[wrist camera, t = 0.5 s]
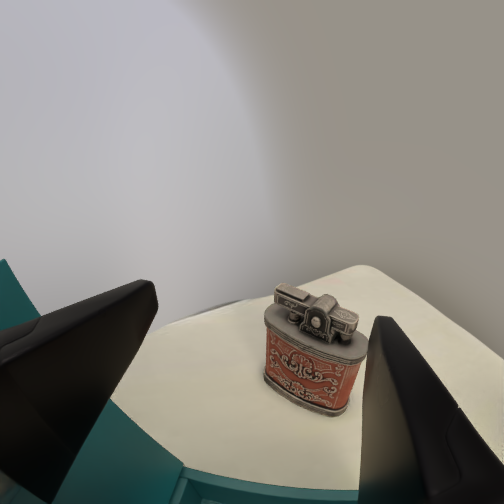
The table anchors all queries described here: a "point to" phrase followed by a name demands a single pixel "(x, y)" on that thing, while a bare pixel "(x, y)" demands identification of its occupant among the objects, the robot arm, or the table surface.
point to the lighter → (312, 350)
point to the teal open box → (248, 492)
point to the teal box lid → (100, 440)
